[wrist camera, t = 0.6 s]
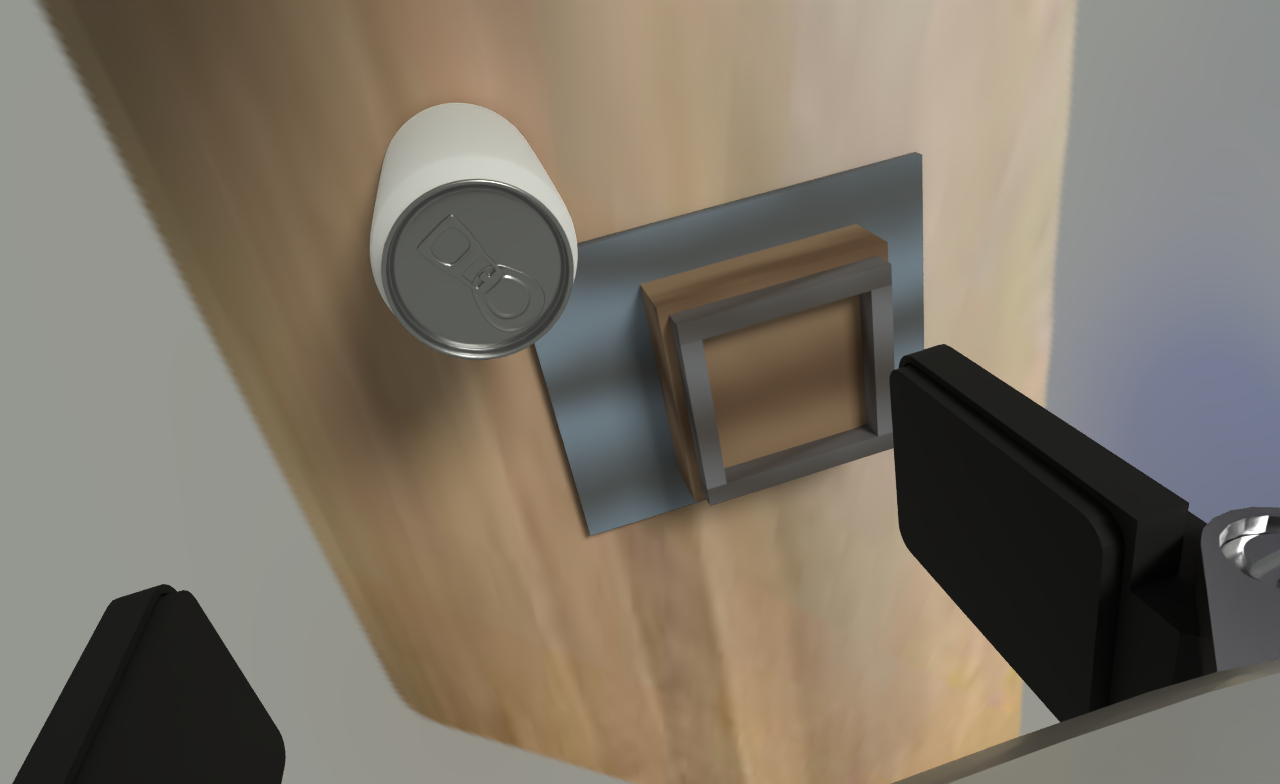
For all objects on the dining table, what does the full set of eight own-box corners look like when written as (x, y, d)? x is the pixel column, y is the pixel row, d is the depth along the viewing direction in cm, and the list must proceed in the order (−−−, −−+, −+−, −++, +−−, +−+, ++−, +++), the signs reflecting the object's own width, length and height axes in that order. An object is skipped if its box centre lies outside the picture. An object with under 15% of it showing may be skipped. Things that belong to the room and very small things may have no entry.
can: (465, 282, 36) (483, 410, 26) (348, 179, 33) (315, 277, 22) (568, 181, 35) (630, 272, 25) (457, 64, 32) (476, 113, 22)
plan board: (510, 261, 36) (522, 299, 32) (915, 152, 38) (975, 174, 34) (588, 529, 44) (606, 587, 40) (919, 425, 46) (967, 470, 42)
